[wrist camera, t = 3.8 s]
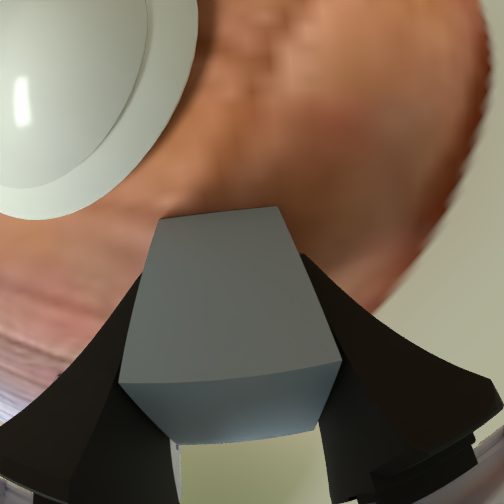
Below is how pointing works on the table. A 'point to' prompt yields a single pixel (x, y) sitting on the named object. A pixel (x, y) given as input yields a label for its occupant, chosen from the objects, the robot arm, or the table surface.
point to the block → (228, 332)
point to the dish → (85, 95)
